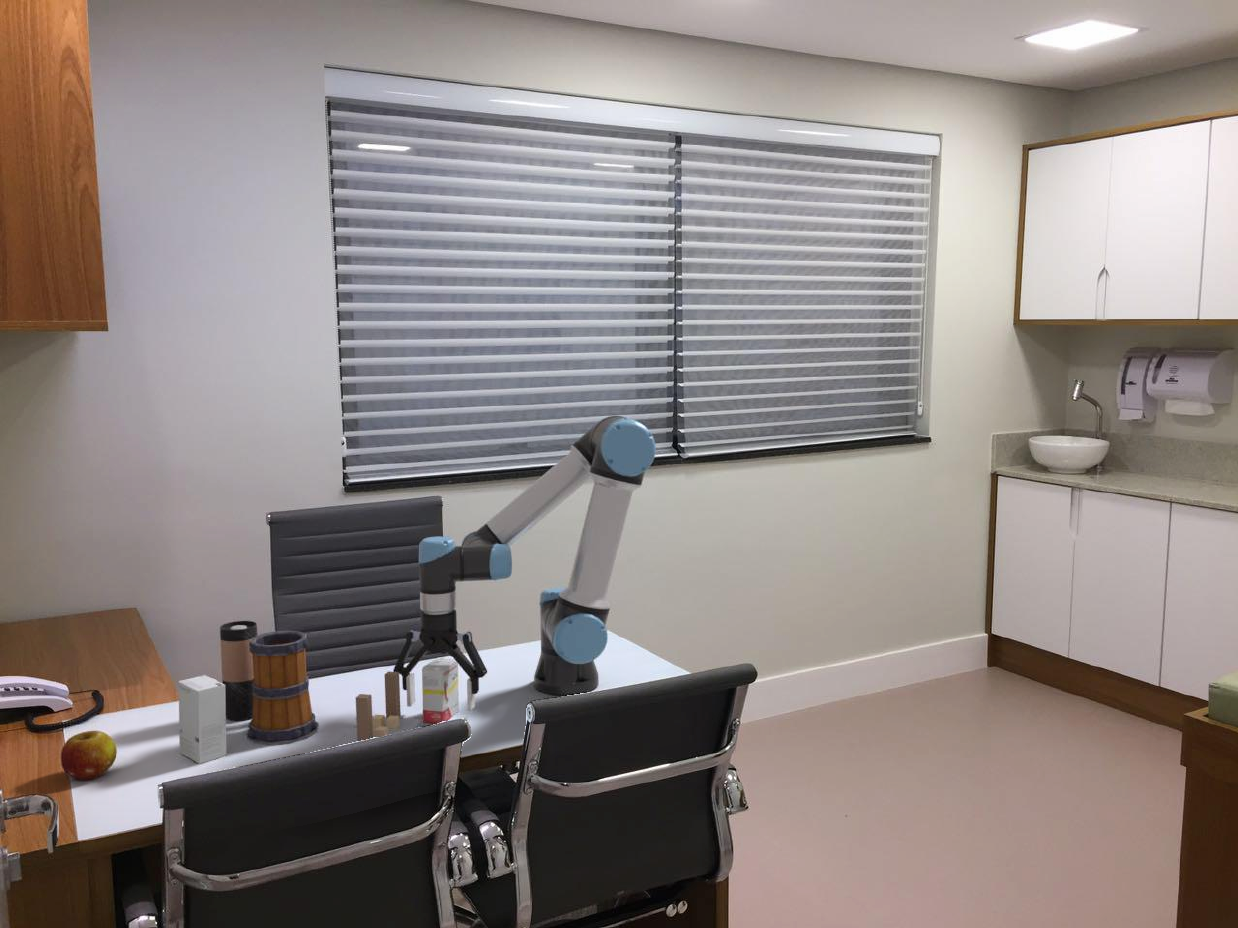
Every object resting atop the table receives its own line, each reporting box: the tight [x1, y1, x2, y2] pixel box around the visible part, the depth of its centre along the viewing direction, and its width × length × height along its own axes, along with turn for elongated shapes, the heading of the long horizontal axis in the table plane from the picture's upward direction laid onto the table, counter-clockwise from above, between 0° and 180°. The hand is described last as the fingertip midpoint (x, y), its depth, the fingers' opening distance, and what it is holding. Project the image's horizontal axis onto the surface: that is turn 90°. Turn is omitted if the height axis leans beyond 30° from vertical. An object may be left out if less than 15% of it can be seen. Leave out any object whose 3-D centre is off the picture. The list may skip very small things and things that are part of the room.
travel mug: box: [219, 620, 258, 722], centre depth 220 cm, size 8×8×20 cm
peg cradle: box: [334, 671, 423, 747], centre depth 207 cm, size 12×16×12 cm
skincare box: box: [177, 674, 227, 764], centre depth 199 cm, size 8×6×15 cm
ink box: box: [421, 657, 460, 724], centre depth 219 cm, size 9×5×12 cm, turn 164°
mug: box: [245, 630, 319, 746], centre depth 213 cm, size 19×14×20 cm
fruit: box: [60, 730, 118, 781], centre depth 191 cm, size 10×9×8 cm
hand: (441, 706), depth 219 cm, fingers open, 13 cm apart
